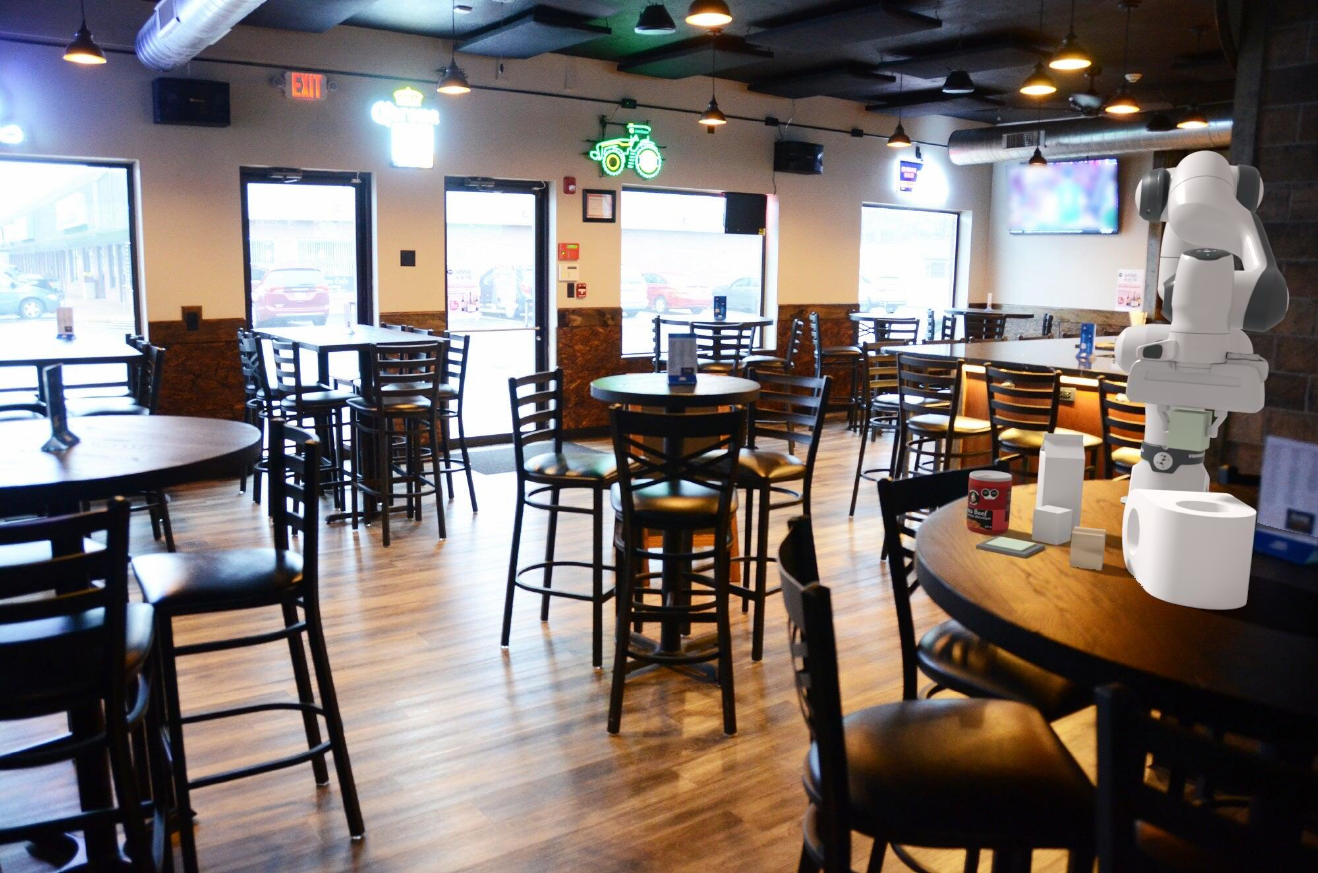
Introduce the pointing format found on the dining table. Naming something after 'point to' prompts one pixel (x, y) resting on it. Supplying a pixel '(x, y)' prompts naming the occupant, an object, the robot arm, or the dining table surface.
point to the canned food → (989, 502)
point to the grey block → (1052, 524)
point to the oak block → (1087, 548)
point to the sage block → (1189, 429)
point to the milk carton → (1061, 473)
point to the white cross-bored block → (1189, 546)
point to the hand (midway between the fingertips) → (1189, 434)
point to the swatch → (1010, 546)
